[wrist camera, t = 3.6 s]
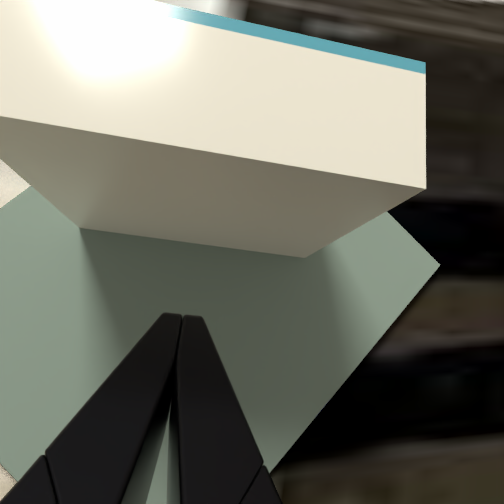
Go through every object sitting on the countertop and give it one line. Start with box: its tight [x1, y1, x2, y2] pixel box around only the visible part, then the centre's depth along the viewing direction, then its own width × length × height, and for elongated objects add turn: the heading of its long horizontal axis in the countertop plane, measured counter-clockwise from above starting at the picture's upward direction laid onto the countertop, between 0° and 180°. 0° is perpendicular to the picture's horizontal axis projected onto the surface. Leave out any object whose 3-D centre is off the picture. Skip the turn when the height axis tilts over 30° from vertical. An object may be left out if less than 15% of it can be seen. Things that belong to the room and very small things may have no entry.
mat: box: [0, 186, 440, 504], centre depth 14 cm, size 14×17×1 cm
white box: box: [0, 0, 426, 258], centre depth 11 cm, size 3×9×8 cm, turn 85°
